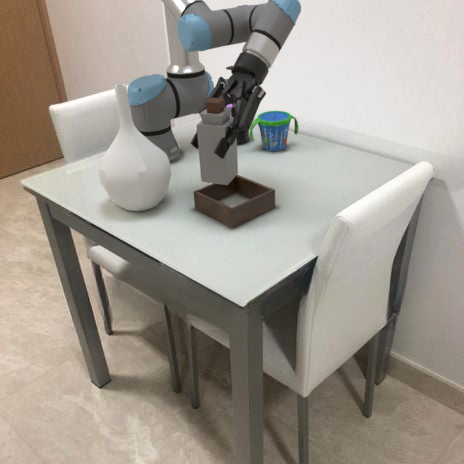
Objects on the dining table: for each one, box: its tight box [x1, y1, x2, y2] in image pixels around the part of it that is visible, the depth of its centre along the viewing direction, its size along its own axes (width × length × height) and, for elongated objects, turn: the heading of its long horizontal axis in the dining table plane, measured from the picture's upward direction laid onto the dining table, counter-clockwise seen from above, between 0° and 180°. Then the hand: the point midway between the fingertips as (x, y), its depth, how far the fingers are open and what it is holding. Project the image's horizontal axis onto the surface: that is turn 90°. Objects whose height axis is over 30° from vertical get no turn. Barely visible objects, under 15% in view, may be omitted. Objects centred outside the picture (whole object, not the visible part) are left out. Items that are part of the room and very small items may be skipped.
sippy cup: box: [249, 110, 299, 152], centre depth 159 cm, size 16×10×10 cm
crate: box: [193, 174, 276, 229], centre depth 128 cm, size 15×15×5 cm
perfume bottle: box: [196, 98, 239, 185], centre depth 116 cm, size 7×7×18 cm
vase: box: [98, 83, 172, 212], centre depth 125 cm, size 18×18×30 cm
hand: (206, 151), depth 115 cm, fingers closed on perfume bottle, 8 cm apart
